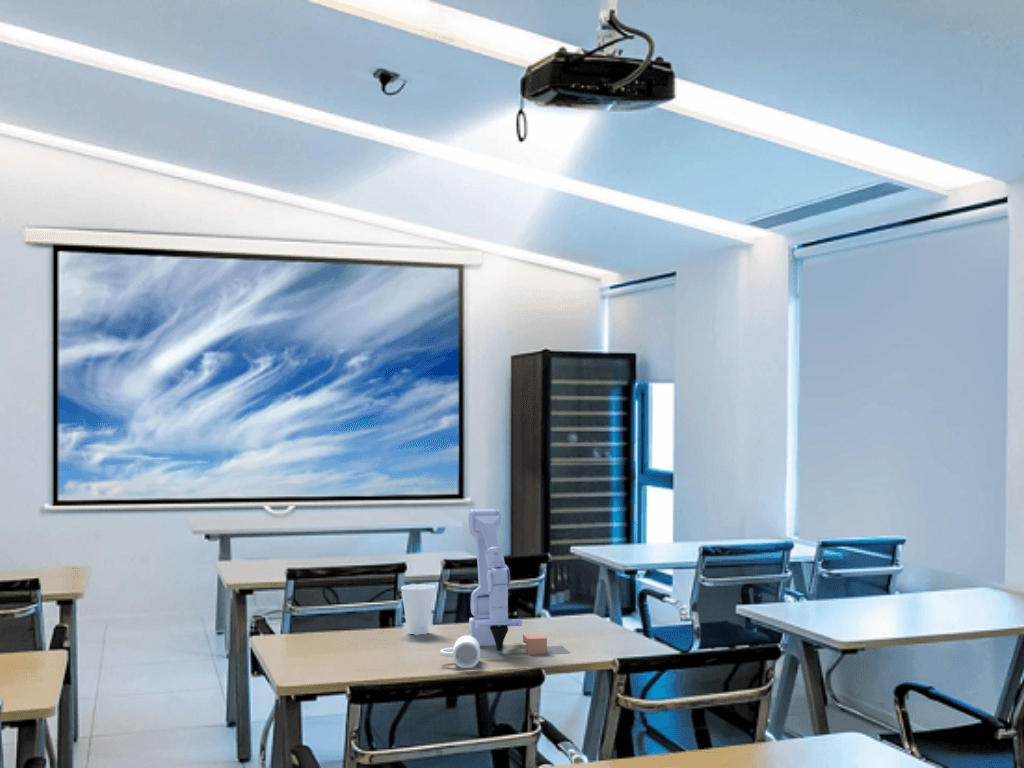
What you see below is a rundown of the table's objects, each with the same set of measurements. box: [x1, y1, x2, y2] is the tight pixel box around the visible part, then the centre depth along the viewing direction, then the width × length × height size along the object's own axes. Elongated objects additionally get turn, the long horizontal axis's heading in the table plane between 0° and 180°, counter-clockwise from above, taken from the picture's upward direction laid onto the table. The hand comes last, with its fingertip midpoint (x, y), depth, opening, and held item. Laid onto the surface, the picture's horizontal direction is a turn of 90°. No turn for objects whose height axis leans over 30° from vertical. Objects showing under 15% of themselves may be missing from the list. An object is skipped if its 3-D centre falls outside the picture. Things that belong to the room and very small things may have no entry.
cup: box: [400, 583, 436, 636], centre depth 366 cm, size 12×12×16 cm
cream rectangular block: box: [502, 642, 527, 654], centre depth 331 cm, size 12×3×3 cm, turn 101°
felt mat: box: [480, 645, 571, 659], centre depth 331 cm, size 32×12×1 cm, turn 101°
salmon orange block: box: [522, 633, 548, 656], centre depth 332 cm, size 6×8×5 cm
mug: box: [439, 635, 481, 669], centre depth 315 cm, size 12×10×8 cm
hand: (499, 650), depth 329 cm, fingers closed
